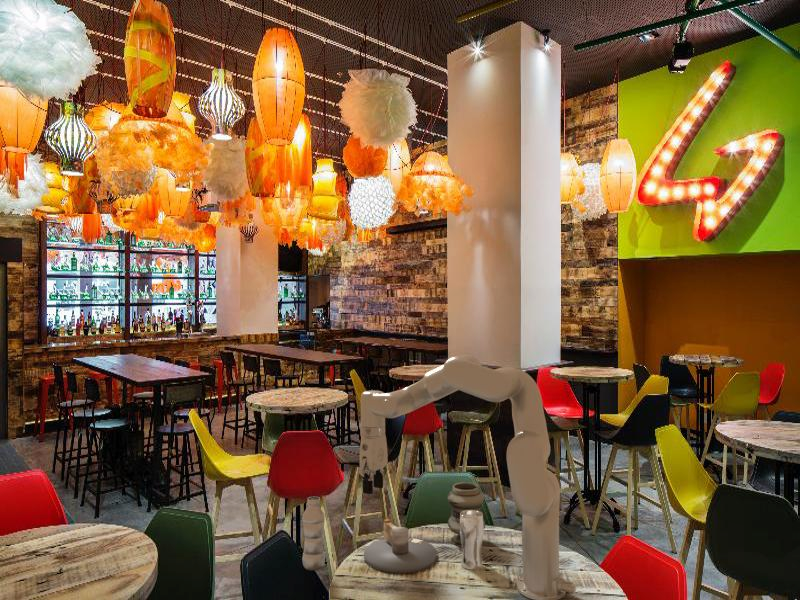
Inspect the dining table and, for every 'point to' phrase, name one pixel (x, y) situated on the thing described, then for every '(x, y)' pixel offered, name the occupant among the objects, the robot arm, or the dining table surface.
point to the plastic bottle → (313, 535)
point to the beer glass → (471, 538)
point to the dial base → (400, 556)
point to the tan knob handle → (396, 537)
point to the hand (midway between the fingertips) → (373, 489)
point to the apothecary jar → (463, 505)
